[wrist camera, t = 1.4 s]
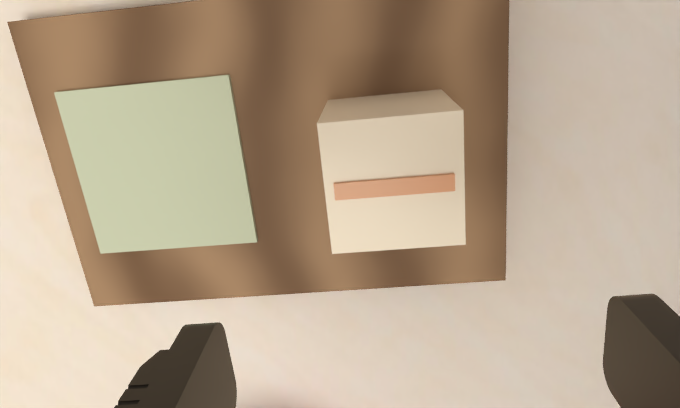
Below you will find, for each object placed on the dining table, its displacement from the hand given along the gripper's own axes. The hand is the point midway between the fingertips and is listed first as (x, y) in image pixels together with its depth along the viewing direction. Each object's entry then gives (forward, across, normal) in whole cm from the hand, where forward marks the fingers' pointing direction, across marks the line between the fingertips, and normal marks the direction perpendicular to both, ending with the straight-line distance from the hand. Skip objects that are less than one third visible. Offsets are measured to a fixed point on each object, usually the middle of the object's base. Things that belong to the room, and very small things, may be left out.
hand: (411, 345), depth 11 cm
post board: (+18, +6, 0) cm, 19 cm away
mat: (+16, +12, 0) cm, 20 cm away
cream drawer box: (+16, 0, 0) cm, 16 cm away
